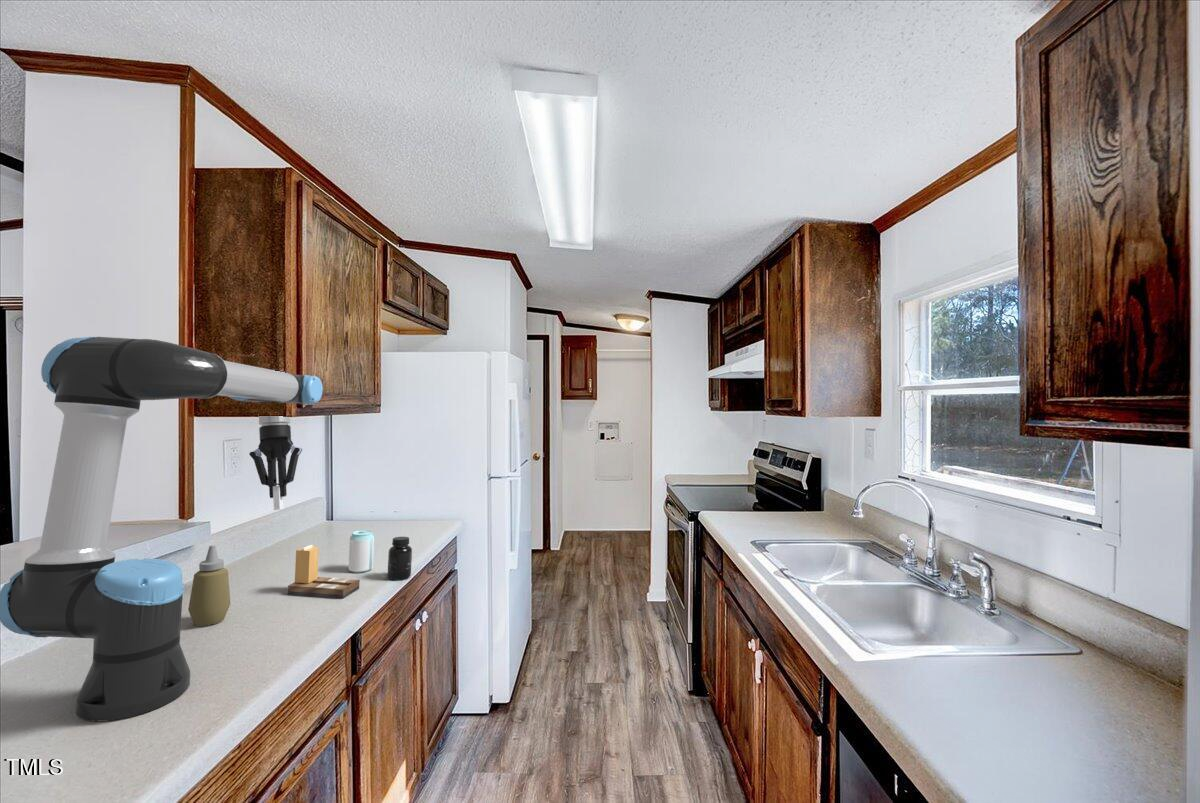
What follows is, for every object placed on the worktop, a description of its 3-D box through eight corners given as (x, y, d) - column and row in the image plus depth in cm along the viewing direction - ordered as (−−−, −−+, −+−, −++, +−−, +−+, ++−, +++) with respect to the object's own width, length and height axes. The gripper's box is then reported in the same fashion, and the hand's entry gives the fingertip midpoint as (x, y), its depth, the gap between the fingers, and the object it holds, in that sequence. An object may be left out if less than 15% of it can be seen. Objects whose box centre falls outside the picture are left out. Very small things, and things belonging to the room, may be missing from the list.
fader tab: (294, 587, 145) (296, 547, 145) (303, 583, 149) (305, 544, 149) (308, 588, 144) (309, 548, 144) (317, 584, 148) (318, 545, 148)
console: (287, 594, 143) (287, 585, 143) (306, 584, 151) (306, 575, 151) (343, 598, 141) (343, 589, 141) (359, 588, 149) (359, 579, 149)
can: (343, 572, 163) (344, 533, 163) (358, 565, 170) (360, 528, 170) (362, 574, 161) (364, 535, 161) (377, 568, 168) (379, 530, 168)
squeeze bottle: (207, 631, 119) (210, 552, 119) (178, 626, 121) (181, 549, 121) (238, 617, 127) (241, 543, 127) (210, 613, 129) (214, 540, 129)
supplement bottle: (413, 578, 159) (415, 539, 159) (390, 582, 155) (391, 542, 155) (407, 572, 165) (409, 534, 165) (385, 575, 161) (386, 536, 161)
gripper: (304, 423, 152) (309, 505, 150) (255, 428, 150) (259, 510, 147) (295, 422, 145) (299, 507, 143) (243, 426, 142) (246, 513, 140)
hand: (278, 509), depth 145 cm, fingers closed
